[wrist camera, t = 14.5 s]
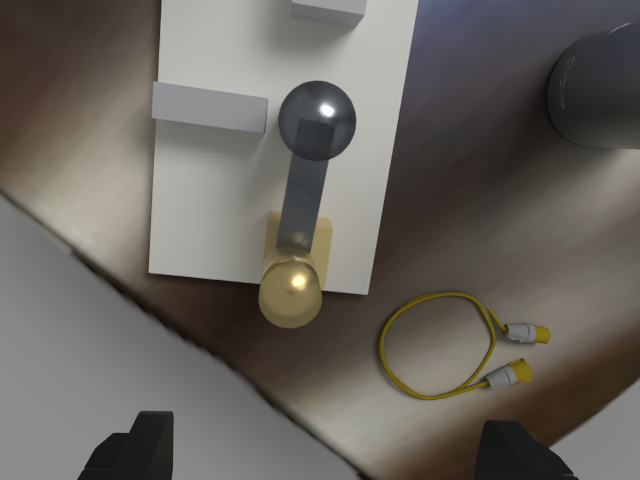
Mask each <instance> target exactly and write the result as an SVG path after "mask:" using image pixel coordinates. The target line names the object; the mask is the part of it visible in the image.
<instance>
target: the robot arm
mask: <svg viewBox="0 0 640 480" xmlns="http://www.w3.org/2000/svg"><path fill="white" fill-rule="evenodd" d="M547 106H548V111H549V114H550V118H551V120H552V122H553V124H554V126H555V128H556V129H557V130H558V131H559V132H560V134H561V135H562V136H563V137H565V138H566V139H568V140H569V141H571V142H573V143H576V144H578V145H582V146H590V147H607V148H621V149H638V150H640V20H639V21H636V22H633V23H629V24H626V25H622V26H619V27H616V28H613V29H610V30H606V31H603V32H600V33H597V34H594V35H590V36H587V37H586V38H584V39H582V40H580V41H578V42H577V43H575V44H574V45H573V46H572V47H570V48H569V49H568V50H567V51H566V52H565V54H564V55H563V56H562V57H561V58H560V60H559V61H558V63H557V65H556V66H555V68H554V70H553V72H552V75H551V78H550V81H549V85H548V92H547ZM173 422H174V418H173V412H172V411H141V412H139V414H138V416H137V418H136V420H135V422H134V424H133V426H132V428H131V430H130V432H129V433H113V434H112V435H110V436H109V437H108V438H107V439H106V440H105V441H103V442H102V443H101V444H100V445H99V446H97V448H95V450H94V451H93V453H92V455H91V457H90V458H89V460H88V462H87V464H86V465H85V468H84V470H83V471H82V472H81V474H80V476H79V477H78V479H77V480H171V479H172V471H173V426H174V425H173V424H174V423H173ZM474 479H475V480H579V479H578V478H577V477H574V475H573V472H572V471H571V470H570V469H569V468H568V466H567V465H566V464H565V463H564V462H563V460H562V459H561V458H560V457H559V456H558V455H556V454H555V453H554V452H552V451H551V450H550V449H548V448H547V447H546V446H544V445H543V444H542V443H540V442H535V441H534V440H533V438H532V437H531V436H530V435H529V433H528V432H527V431H526V430H525V428H524V427H523V426H522V425H521V424H520V423H519V422H518V421H505V420H488V421H486V422H485V424H484V427H483V431H482V436H481V440H480V445H479V450H478V455H477V460H476V465H475V470H474Z"/></svg>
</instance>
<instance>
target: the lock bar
mask: <svg viewBox="0 0 640 480" xmlns="http://www.w3.org/2000/svg"><path fill="white" fill-rule="evenodd" d="M278 125H279V131H280V134H281V137H282V139H283V141H284V143H285V144H286V146H287V147H288V148H289V149H290V150H291V151H292V155H291V161H290V166H289V172H288V177H287V183H286V188H285V194H284V199H283V205H282V210H281V216H280V221H279V227H278V232H277V238H276V243H275V248H274V249H273V250H272V251H271V252H270V253H269V254H268V255H267V257H266V259H265V261H264V265H263V271H262V278H261V285H260V291H259V306H260V309H261V311H262V313H263V314H264V316H265V317H266V318H267V319H268V320H269V321H270V322H272V323H273V324H275V325H277V326H280V327H284V328H296V327H300V326H303V325H305V324H307V323H309V322H310V321H311V320H312V319H313V318H314V317H315V316H316V315H317V313H318V312H319V310H320V307H321V304H322V292H321V288H320V283H319V279H318V275H317V270H316V266H315V262H314V259H313V257H312V256H311V254H310V252H311V247H312V242H313V237H314V232H315V227H316V222H317V217H318V212H319V207H320V202H321V197H322V192H323V187H324V182H325V178H326V173H327V168H328V163H329V160H330V159H332V158H335V157H336V156H338V155H339V154H341V153H342V152H343V151H344V150H345V149H346V148H347V147H348V145H349V144H350V142H351V141H352V139H353V136H354V134H355V130H356V113H355V109H354V106H353V103H352V101H351V100H350V98H349V97H348V95H347V94H346V93H345V92H344V91H343V90H342V89H341V88H339V87H338V86H336V85H334V84H332V83H329V82H326V81H318V80H315V81H309V82H305V83H303V84H300V85H298V86H297V87H295V88H294V89H293V90H292V91H291V92H290V93H289V94H288V95H287V96H286V98H285V99H284V101H283V103H282V105H281V108H280V111H279V117H278Z"/></svg>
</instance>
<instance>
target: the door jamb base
mask: <svg viewBox="0 0 640 480" xmlns="http://www.w3.org/2000/svg"><path fill="white" fill-rule="evenodd" d="M417 6H418V0H162V8H161V28H160V49H159V70H158V82H155V81H153V98H152V118H156V132H155V153H154V173H153V194H152V215H151V236H150V256H149V273H157V274H167V275H177V276H187V277H196V278H206V279H216V280H226V281H236V282H246V283H255V284H261V278H262V271H263V265H264V261H265V259H266V257H267V255H268V254H269V253H270V252H271V251H272V250H273V249H274V248H275V243H276V238H277V232H278V227H279V221H280V216H281V210H282V205H283V199H284V194H285V188H286V183H287V177H288V172H289V166H290V161H291V155H292V151H291V150H290V149H289V148H288V147H287V146H286V144H285V143H284V141H283V139H282V137H281V134H280V131H279V125H278V117H279V111H280V108H281V105H282V103H283V101H284V99H285V98H286V96H287V95H288V94H289V93H290V92H291V91H292V90H293V89H294V88H295V87H297V86H298V85H300V84H303V83H305V82H309V81H315V80H318V81H326V82H329V83H332V84H334V85H336V86H338V87H339V88H341V89H342V90H343V91H344V92H345V93H346V94H347V95H348V97H349V98H350V100H351V101H352V103H353V106H354V109H355V113H356V130H355V134H354V136H353V139H352V141H351V142H350V144H349V145H348V147H347V148H346V149H345V150H344V151H343V152H342V153H341V154H339V155H338V156H336V157H335V158H332V159H330V160H329V163H328V168H327V173H326V178H325V182H324V187H323V192H322V197H321V202H320V207H319V212H318V217H317V222H316V227H315V232H314V237H313V242H312V247H311V252H310V254H311V256H312V257H313V259H314V262H315V266H316V270H317V275H318V279H319V283H320V288H321V290H324V291H334V292H344V293H354V294H364V295H368V290H369V284H370V278H371V273H372V267H373V261H374V255H375V249H376V244H377V238H378V232H379V226H380V220H381V215H382V209H383V203H384V197H385V191H386V186H387V180H388V174H389V168H390V162H391V157H392V151H393V145H394V139H395V133H396V128H397V122H398V116H399V110H400V104H401V99H402V93H403V87H404V81H405V75H406V70H407V64H408V58H409V52H410V46H411V40H412V35H413V29H414V23H415V17H416V11H417Z"/></svg>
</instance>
